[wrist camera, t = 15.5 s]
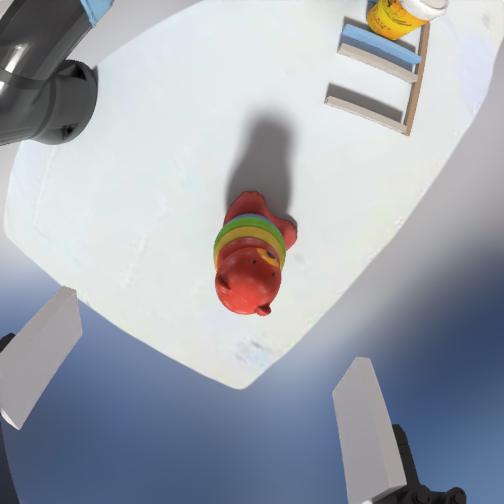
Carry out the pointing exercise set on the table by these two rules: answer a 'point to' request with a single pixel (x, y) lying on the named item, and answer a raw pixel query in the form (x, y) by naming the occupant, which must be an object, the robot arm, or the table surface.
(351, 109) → the rack
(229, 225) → the stacking bear
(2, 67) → the robot arm
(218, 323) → the table surface
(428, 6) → the beer can
